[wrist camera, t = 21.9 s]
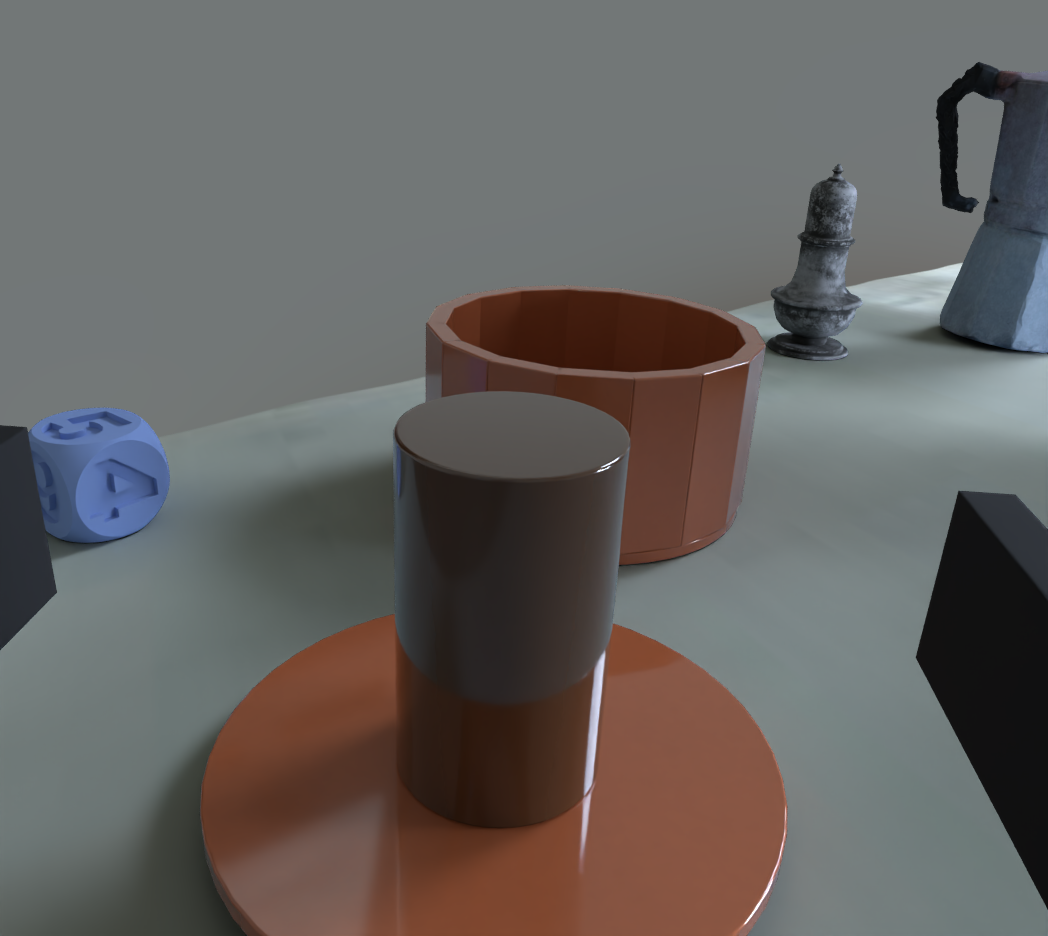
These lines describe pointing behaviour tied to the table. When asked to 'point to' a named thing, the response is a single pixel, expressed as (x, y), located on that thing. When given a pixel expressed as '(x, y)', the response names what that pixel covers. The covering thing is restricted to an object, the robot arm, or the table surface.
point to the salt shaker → (819, 277)
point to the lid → (496, 722)
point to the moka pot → (1002, 215)
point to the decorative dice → (98, 473)
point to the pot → (623, 391)
